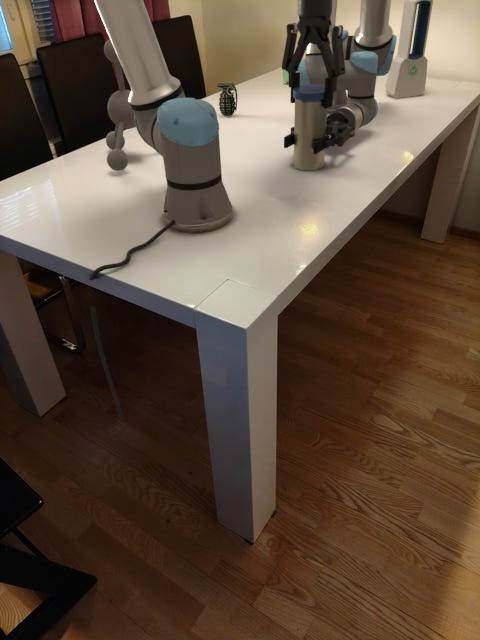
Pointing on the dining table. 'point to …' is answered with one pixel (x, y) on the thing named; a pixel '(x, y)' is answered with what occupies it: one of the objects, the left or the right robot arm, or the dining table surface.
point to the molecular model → (118, 115)
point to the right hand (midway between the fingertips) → (299, 145)
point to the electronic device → (407, 67)
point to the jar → (309, 133)
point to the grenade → (227, 99)
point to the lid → (309, 92)
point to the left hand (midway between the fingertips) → (311, 104)
